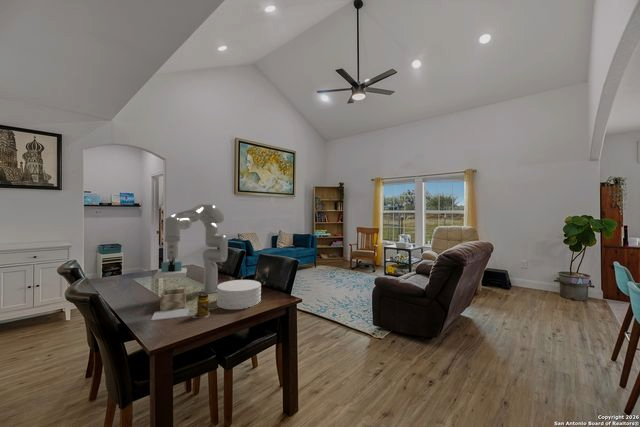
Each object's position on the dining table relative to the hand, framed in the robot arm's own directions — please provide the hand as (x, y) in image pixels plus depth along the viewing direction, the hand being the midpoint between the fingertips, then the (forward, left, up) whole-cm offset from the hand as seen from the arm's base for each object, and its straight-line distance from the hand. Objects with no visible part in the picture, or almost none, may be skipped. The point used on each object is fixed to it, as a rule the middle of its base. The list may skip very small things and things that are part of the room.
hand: (171, 270), depth 157 cm
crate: (0, -15, -26) cm, 30 cm away
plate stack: (-39, -10, -26) cm, 48 cm away
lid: (0, 0, -2) cm, 2 cm away
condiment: (-16, +7, -26) cm, 31 cm away
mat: (0, 0, -26) cm, 26 cm away
